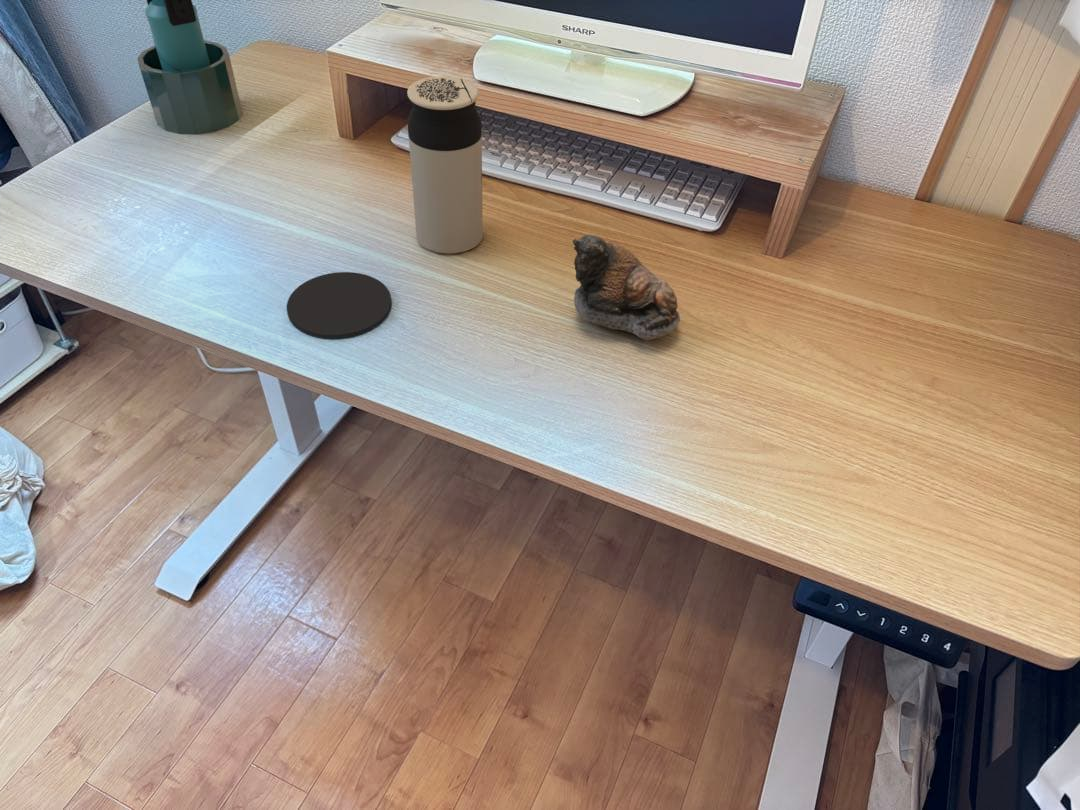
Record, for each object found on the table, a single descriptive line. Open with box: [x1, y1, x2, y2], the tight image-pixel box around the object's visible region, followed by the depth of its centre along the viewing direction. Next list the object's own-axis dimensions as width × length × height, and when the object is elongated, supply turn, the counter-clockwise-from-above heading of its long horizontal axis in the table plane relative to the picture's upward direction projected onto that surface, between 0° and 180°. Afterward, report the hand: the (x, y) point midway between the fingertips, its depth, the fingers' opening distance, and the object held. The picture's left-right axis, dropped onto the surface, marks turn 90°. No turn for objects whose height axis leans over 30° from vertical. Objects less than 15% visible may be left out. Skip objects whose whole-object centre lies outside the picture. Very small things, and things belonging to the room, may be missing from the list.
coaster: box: [286, 271, 393, 340], centre depth 85 cm, size 11×11×1 cm
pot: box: [136, 39, 243, 135], centre depth 109 cm, size 11×11×10 cm
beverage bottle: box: [144, 0, 212, 71], centre depth 106 cm, size 6×7×20 cm
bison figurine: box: [572, 234, 681, 341], centre depth 81 cm, size 12×7×10 cm, turn 75°
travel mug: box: [406, 75, 484, 254], centre depth 89 cm, size 8×8×18 cm
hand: (172, 13), depth 102 cm, fingers closed on beverage bottle, 6 cm apart
